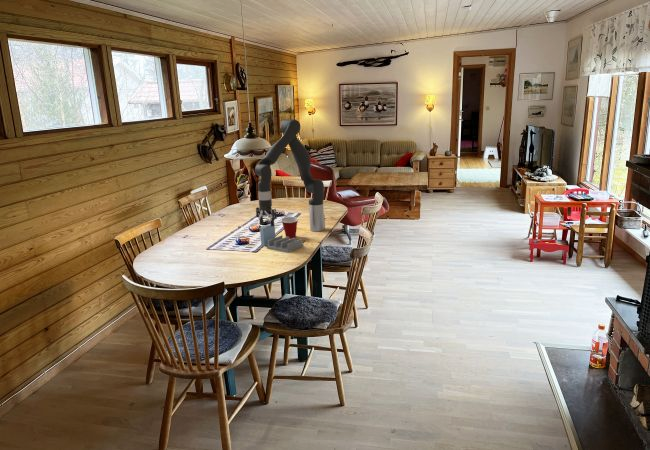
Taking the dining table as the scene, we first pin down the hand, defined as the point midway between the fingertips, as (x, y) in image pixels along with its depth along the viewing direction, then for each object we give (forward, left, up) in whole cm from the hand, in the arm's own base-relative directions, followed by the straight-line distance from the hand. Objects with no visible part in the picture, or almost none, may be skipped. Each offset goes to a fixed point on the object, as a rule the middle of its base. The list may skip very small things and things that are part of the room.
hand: (267, 225), depth 281 cm
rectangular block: (0, 0, -11) cm, 11 cm away
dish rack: (+1, +14, -11) cm, 18 cm away
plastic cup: (-16, +4, -12) cm, 20 cm away
